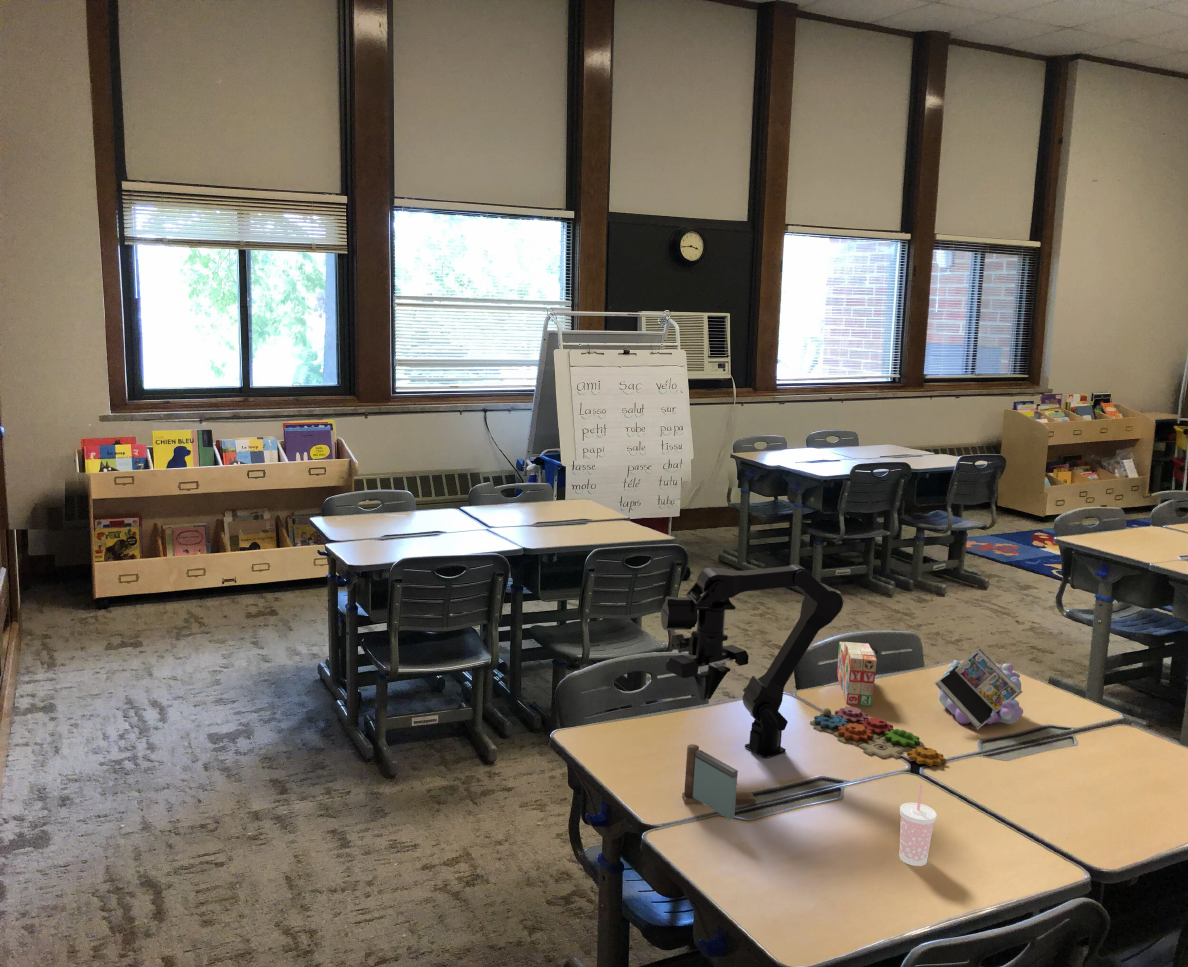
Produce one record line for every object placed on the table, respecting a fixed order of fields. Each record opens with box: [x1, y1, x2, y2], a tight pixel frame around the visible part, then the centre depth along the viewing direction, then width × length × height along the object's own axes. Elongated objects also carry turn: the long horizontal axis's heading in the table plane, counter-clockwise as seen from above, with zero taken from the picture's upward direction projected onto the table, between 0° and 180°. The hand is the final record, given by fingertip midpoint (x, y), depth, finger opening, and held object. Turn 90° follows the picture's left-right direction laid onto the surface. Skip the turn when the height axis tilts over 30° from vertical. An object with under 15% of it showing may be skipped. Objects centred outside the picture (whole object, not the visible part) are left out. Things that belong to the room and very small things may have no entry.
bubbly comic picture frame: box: [934, 647, 1024, 730], centre depth 234 cm, size 20×22×18 cm
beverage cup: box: [899, 783, 938, 867], centre depth 169 cm, size 6×6×14 cm
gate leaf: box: [693, 749, 739, 821], centre depth 181 cm, size 1×10×9 cm, turn 37°
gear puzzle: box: [809, 706, 947, 767], centre depth 218 cm, size 31×16×4 cm, turn 35°
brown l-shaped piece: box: [681, 743, 756, 805], centre depth 187 cm, size 3×14×11 cm, turn 95°
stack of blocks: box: [836, 641, 878, 707], centre depth 249 cm, size 21×6×12 cm, turn 173°
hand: (705, 699), depth 207 cm, fingers closed
